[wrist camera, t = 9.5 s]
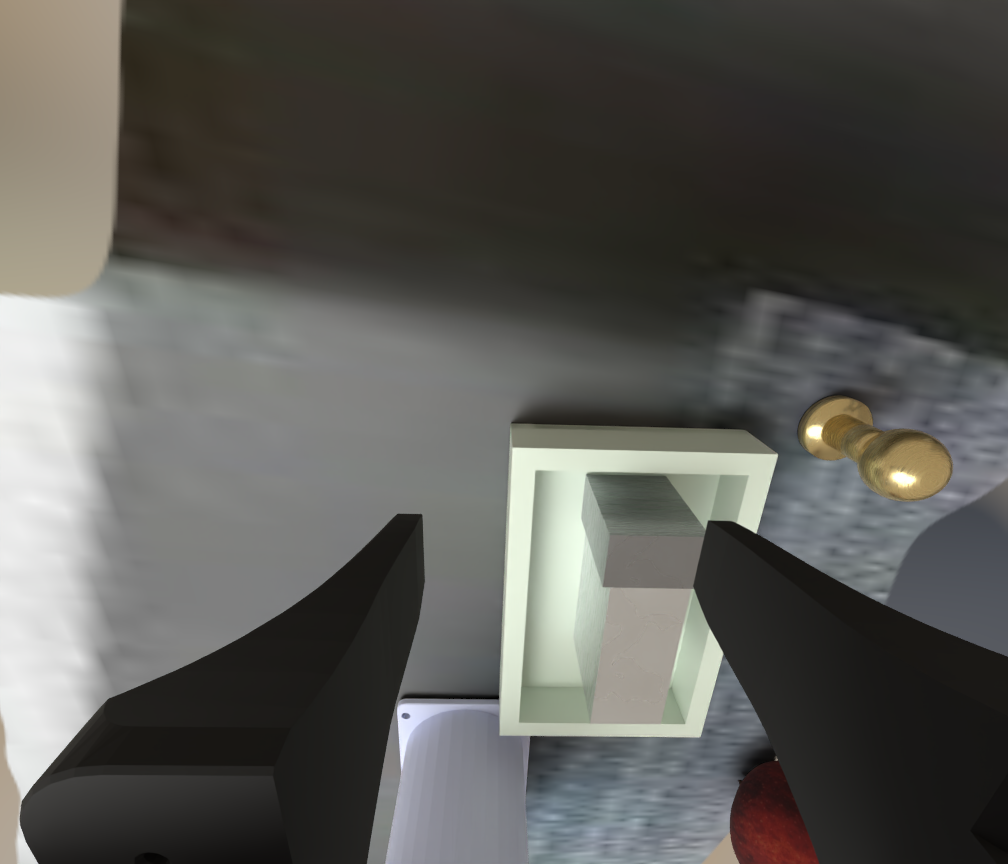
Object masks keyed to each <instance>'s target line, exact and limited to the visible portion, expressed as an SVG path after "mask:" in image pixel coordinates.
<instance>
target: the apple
mask: <svg viewBox="0 0 1008 864" xmlns="http://www.w3.org/2000/svg"><path fill="white" fill-rule="evenodd" d="M738 781H739V784H740V786H739V788H738V790H737V793H736V795H735V798H734V801H733V804H732V808H731V815H730V834H731V841H732V845H733V849H734V851H735V854H736V857H737V859H738V861H739V863H740V864H819V861H818V858H817V856H816V853H815V850H814V848H813V845H812V842H811V840H810V837H809V834H808V832H807V829H806V826H805V824H804V821H803V819H802V816H801V814H800V811H799V809H798V807H797V804H796V802H795V799H794V797H793V794H792V792H791V789H790V787H789V784H788V782H787V779H786V777H785V775H784V772H783V770H782V768H781V765H780V763H779V761H770V762H766V763H763V764H761V765H758V766H757V767H755V768H754V769H753V770H752V771H750V772H749V773H748V774H747V776H746V777H745V778H744V779H743V781H742V780H738Z"/></svg>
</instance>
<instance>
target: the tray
mask: <svg viewBox="0 0 1008 864" xmlns="http://www.w3.org/2000/svg"><path fill="white" fill-rule="evenodd" d="M777 457H778V454H777V453H776V452H774V451H773V450H772V449H770V448H769V447H768V446H766V445H765V444H764V443H762V442H761V441H759V440H758V439H757V438H755V437H754V436H753V435H751V434H750V433H749V432H747V431H746V430H738V429H701V428H664V427H627V426H590V425H553V424H516V423H511V424H510V448H509V471H508V495H507V518H506V542H505V565H504V588H503V612H502V635H501V659H500V682H499V735H500V736H610V737H700V736H701V733H702V729H703V726H704V722H705V718H706V715H707V711H708V707H709V704H710V700H711V697H712V693H713V689H714V686H715V682H716V678H717V675H718V671H719V668H720V664H721V660H722V657H723V651H722V650H721V648H720V646H719V644H718V642H717V640H716V639H715V637H714V635H713V633H712V631H711V629H710V627H709V625H708V624H707V621H706V619H705V616H704V614H703V611H702V609H701V607H700V604H699V601H698V598H697V596H696V593H695V590H694V589H691V593H690V597H689V602H688V606H687V611H686V615H685V619H684V624H683V628H682V633H681V637H680V641H679V646H678V650H677V655H676V659H675V663H674V668H673V672H672V677H671V681H670V685H669V690H668V694H667V699H666V703H665V707H664V712H663V716H662V721H661V724H590V720H589V715H588V710H587V705H586V700H585V695H584V689H583V684H582V679H581V674H580V669H579V664H578V659H577V654H576V649H575V644H574V639H573V635H574V626H575V617H576V609H577V600H578V592H579V583H580V575H581V566H582V557H583V549H584V540H585V529H584V526H583V523H582V520H581V513H582V504H583V495H584V486H585V477H586V474H602V475H643V476H666V477H667V478H668V480H669V481H670V482H671V484H672V485H673V486H674V488H675V489H676V490H677V492H678V493H679V495H680V496H681V497H682V499H683V500H684V501H685V503H686V504H687V505H688V507H689V508H690V509H691V511H692V512H693V513H694V515H695V516H696V518H697V519H698V520H699V522H700V523H701V524H702V526H703V527H704V528H705V530H706V527H707V523H708V520H712V521H733V522H735V523H737V524H739V525H741V526H743V527H745V528H747V529H749V530H751V531H753V532H754V533H757V530H758V526H759V522H760V519H761V515H762V512H763V508H764V504H765V501H766V497H767V493H768V490H769V486H770V483H771V479H772V475H773V472H774V468H775V464H776V461H777Z"/></svg>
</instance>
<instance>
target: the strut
mask: <svg viewBox="0 0 1008 864" xmlns="http://www.w3.org/2000/svg"><path fill="white" fill-rule="evenodd" d="M581 520H582V523H583V526H584V529H585V540H584V549H583V557H582V566H581V575H580V583H579V592H578V600H577V609H576V617H575V626H574V635H573V639H574V644H575V649H576V654H577V659H578V664H579V669H580V674H581V679H582V684H583V689H584V695H585V700H586V705H587V710H588V715H589V720H590V724H661V721H662V716H663V712H664V707H665V703H666V699H667V694H668V690H669V685H670V681H671V677H672V672H673V668H674V663H675V659H676V655H677V650H678V646H679V641H680V637H681V633H682V628H683V624H684V619H685V615H686V611H687V606H688V602H689V597H690V593H691V589H694V587H693V584H694V580H695V575H696V571H697V566H698V562H699V558H700V553H701V549H702V544H703V540H704V536H705V531H706V530H705V528H704V527H703V526H702V524H701V523H700V522H699V520H698V519H697V518H696V516H695V515H694V513H693V512H692V511H691V509H690V508H689V507H688V505H687V504H686V503H685V501H684V500H683V499H682V497H681V496H680V495H679V493H678V492H677V490H676V489H675V488H674V486H673V485H672V484H671V482H670V481H669V480H668V478H667V477H666V476H643V475H602V474H586V477H585V486H584V495H583V504H582V513H581Z"/></svg>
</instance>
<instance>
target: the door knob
mask: <svg viewBox="0 0 1008 864" xmlns="http://www.w3.org/2000/svg"><path fill="white" fill-rule="evenodd" d="M872 425H873V419H872V414H871V412H870V410H869V409H868V407H867V406H866V405H864V404H863V403H861V402H859V401H857V400H855V399H852V398H850V397H847V396H841V395H836V396H830V397H826V398H824V399H822V400H820V401H818V402H816V403H815V404H814V405H812V406H811V407H810V408H809V409H808V410H807V411H806V412H805V414H804V415H803V417H802V419H801V421H800V423H799V426H798V439H799V442H800V444H801V446H802V447H803V448H804V449H805V450H806V451H808V452H809V453H811V454H812V455H814V456H816V457H817V458H820V459H823V460H838V459H842V458H845V457H848V458H850V459H851V460H853V461H855V462H856V463H857V468H858V472H859V475H860V477H861V479H862V480H863V482H864V483H865V484H866V485H867V486H868V487H869V488H870V489H871V490H872V491H874V492H875V493H877V494H879V495H881V496H883V497H885V498H888V499H891V500H896V501H905V502H910V501H919V500H923V499H926V498H929V497H931V496H933V495H935V494H937V493H938V492H940V491H941V490H942V489H943V488H944V487H945V486H946V485H947V483H948V482H949V480H950V478H951V476H952V472H953V462H952V458H951V455H950V453H949V451H948V450H947V448H946V447H945V446H944V445H943V444H942V443H941V442H940V441H939V440H938V439H936V438H935V437H933V436H931V435H929V434H927V433H924V432H922V431H918V430H913V429H893V430H888V431H885V432H884V431H882V430H880V429H877V428H875V427H873V426H872Z"/></svg>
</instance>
